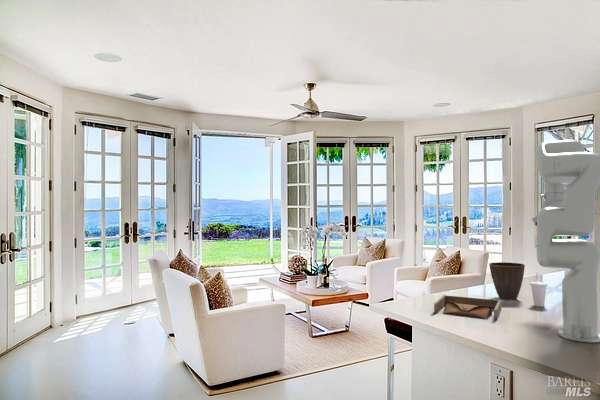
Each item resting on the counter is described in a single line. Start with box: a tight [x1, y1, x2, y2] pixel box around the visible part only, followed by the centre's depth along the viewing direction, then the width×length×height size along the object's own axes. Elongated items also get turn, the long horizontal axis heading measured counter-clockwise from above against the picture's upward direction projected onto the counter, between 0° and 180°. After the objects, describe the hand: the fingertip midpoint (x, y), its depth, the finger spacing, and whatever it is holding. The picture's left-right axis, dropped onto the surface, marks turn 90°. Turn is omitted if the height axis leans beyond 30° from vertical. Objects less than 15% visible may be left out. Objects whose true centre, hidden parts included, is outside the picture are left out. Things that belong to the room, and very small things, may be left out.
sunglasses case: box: [442, 302, 493, 320], centre depth 169 cm, size 18×7×7 cm
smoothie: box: [530, 272, 548, 307], centre depth 182 cm, size 6×6×14 cm
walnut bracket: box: [433, 294, 502, 322], centre depth 173 cm, size 19×23×4 cm
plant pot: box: [488, 261, 526, 301], centre depth 198 cm, size 15×15×16 cm
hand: (555, 238), depth 177 cm, fingers open, 9 cm apart
